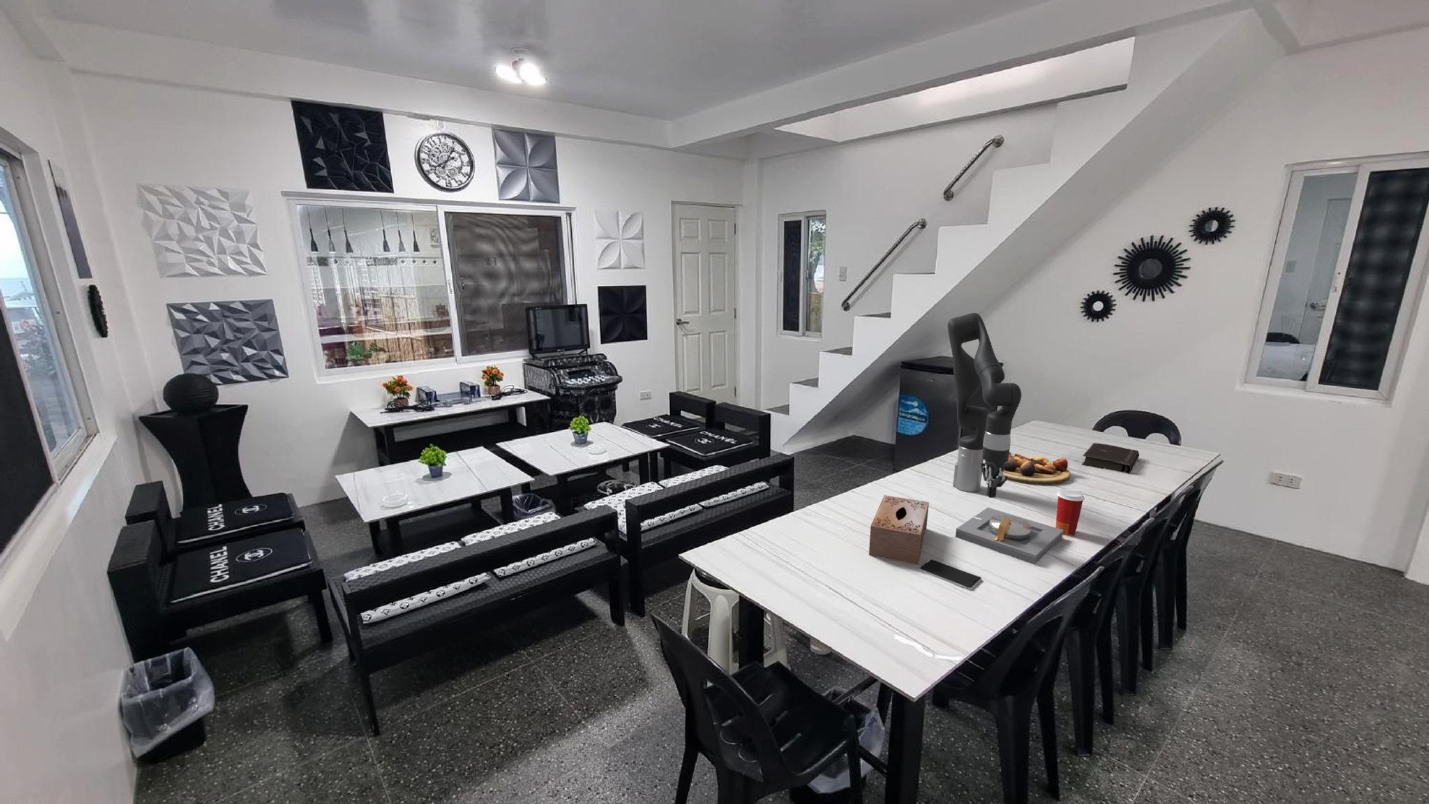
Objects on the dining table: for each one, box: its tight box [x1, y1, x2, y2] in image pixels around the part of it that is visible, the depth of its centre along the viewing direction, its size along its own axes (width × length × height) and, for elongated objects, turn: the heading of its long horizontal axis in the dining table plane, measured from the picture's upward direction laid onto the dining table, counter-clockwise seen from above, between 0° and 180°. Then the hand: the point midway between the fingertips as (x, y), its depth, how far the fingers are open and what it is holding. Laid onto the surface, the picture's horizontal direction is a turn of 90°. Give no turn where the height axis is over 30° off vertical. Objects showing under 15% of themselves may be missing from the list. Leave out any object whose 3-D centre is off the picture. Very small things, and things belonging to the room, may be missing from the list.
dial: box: [989, 515, 1032, 540], centre depth 181 cm, size 17×12×6 cm
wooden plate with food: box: [1003, 451, 1072, 485], centre depth 241 cm, size 32×32×8 cm
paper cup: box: [1055, 488, 1086, 537], centre depth 186 cm, size 8×8×14 cm
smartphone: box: [918, 559, 982, 591], centre depth 163 cm, size 8×1×15 cm
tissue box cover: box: [868, 494, 930, 565], centre depth 181 cm, size 26×14×10 cm, turn 155°
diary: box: [1081, 442, 1140, 475], centre depth 252 cm, size 19×25×5 cm
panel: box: [955, 507, 1064, 565], centre depth 184 cm, size 24×24×3 cm
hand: (990, 496), depth 181 cm, fingers closed
